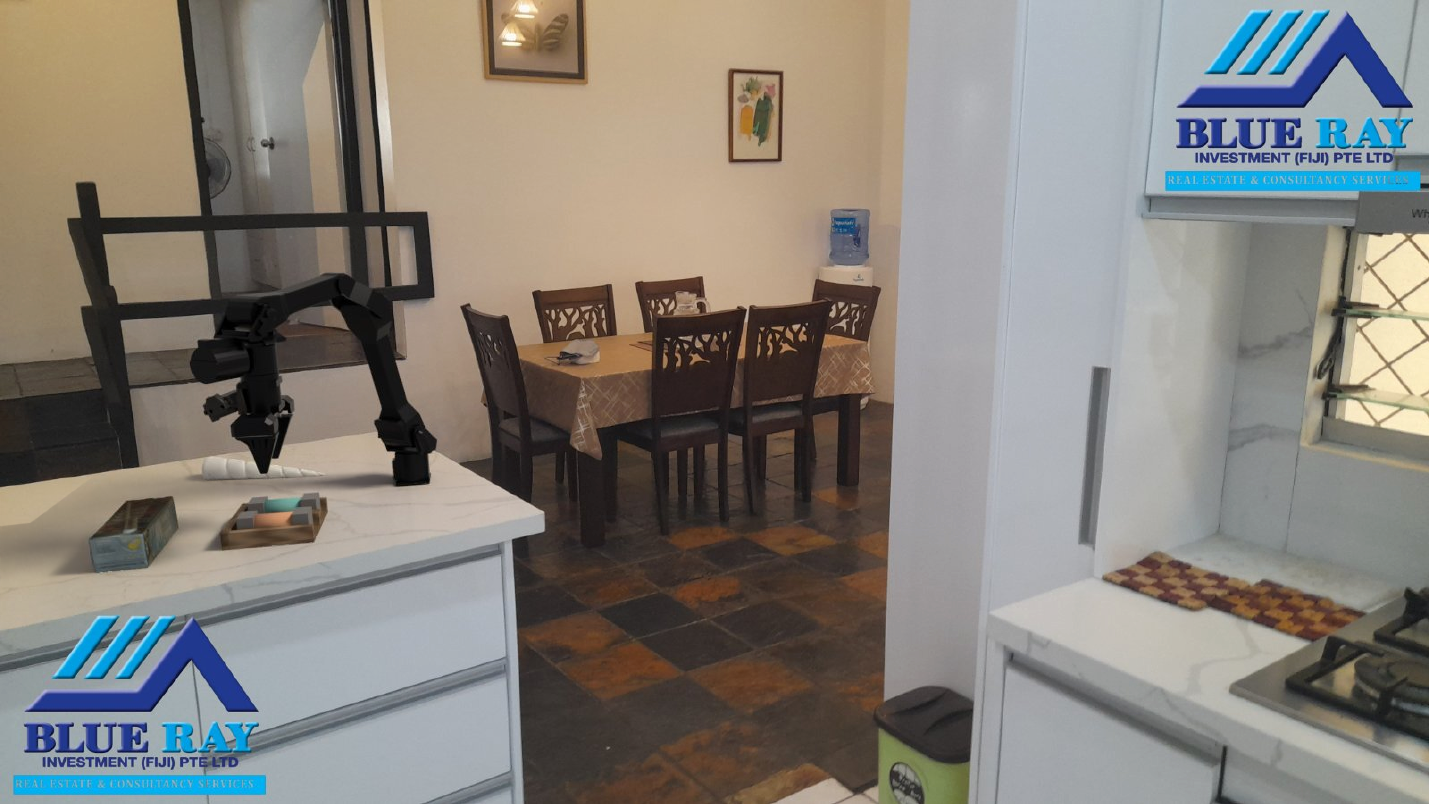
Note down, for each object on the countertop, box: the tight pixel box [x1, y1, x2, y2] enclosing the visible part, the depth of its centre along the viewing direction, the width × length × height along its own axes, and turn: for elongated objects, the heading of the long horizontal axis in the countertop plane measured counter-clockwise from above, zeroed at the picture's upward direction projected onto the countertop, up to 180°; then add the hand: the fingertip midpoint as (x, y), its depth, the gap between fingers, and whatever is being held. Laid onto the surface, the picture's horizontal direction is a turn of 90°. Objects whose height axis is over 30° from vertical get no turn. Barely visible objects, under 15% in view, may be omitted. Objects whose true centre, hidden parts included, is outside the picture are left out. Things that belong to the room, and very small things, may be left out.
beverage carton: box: [88, 495, 179, 574], centre depth 155 cm, size 8×19×7 cm, turn 16°
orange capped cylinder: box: [236, 506, 313, 530], centre depth 160 cm, size 11×4×4 cm, turn 104°
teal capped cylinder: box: [247, 492, 321, 514], centre depth 168 cm, size 11×4×4 cm, turn 104°
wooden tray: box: [219, 496, 329, 551], centre depth 164 cm, size 14×16×3 cm
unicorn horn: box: [201, 455, 326, 481], centre depth 195 cm, size 5×24×5 cm, turn 89°
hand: (269, 466), depth 158 cm, fingers open, 9 cm apart
